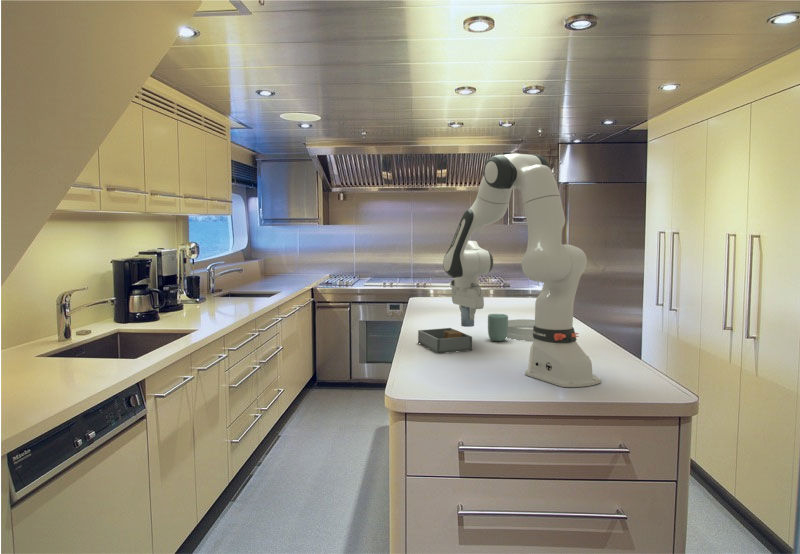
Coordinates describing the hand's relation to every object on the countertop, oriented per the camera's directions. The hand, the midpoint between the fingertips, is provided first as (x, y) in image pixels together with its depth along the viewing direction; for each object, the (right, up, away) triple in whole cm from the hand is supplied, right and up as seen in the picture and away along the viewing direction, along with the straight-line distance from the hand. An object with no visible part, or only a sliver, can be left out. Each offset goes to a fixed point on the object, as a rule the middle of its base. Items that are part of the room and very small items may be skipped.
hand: (467, 318), depth 204 cm
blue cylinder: (0, -3, 0) cm, 3 cm away
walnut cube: (-7, -9, -10) cm, 15 cm away
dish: (+26, -9, +12) cm, 30 cm away
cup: (+12, -9, +2) cm, 15 cm away
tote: (-10, -10, -9) cm, 16 cm away
